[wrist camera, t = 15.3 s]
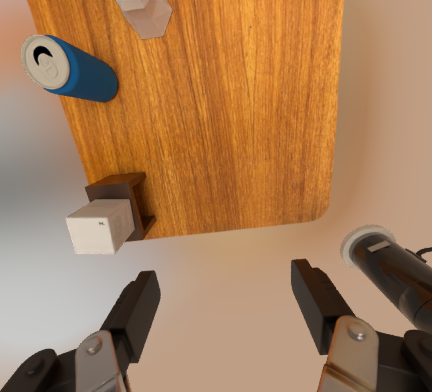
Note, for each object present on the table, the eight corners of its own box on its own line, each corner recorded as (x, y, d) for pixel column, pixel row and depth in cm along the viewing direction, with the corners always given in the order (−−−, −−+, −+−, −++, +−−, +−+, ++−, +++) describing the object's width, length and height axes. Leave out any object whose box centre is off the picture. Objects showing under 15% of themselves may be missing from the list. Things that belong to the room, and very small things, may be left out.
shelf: (145, 171, 41) (127, 182, 33) (156, 220, 44) (143, 240, 37) (109, 175, 41) (84, 187, 34) (123, 223, 45) (104, 243, 37)
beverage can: (106, 53, 34) (48, 18, 23) (126, 93, 36) (82, 78, 24) (75, 71, 35) (5, 46, 24) (96, 108, 37) (41, 101, 25)
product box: (95, 198, 34) (63, 216, 27) (130, 198, 34) (107, 217, 27) (102, 229, 36) (74, 254, 29) (135, 230, 36) (115, 255, 29)
